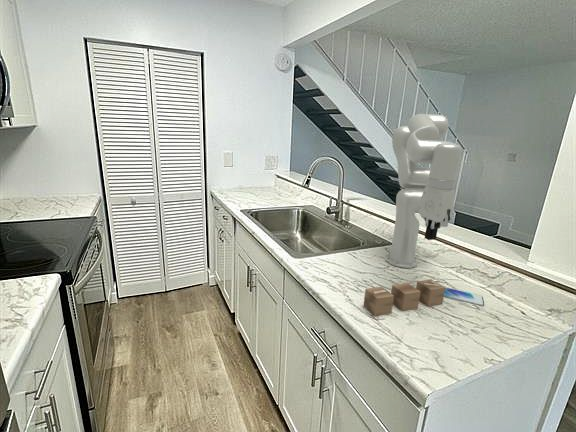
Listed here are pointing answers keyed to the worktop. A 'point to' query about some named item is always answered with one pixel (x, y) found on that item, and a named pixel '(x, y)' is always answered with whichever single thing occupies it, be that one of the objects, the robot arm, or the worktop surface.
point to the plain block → (405, 296)
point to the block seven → (430, 292)
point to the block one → (378, 301)
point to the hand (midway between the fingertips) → (430, 238)
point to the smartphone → (464, 296)
